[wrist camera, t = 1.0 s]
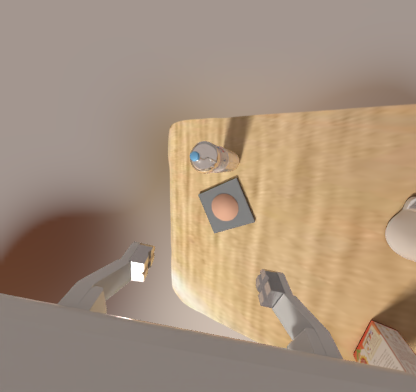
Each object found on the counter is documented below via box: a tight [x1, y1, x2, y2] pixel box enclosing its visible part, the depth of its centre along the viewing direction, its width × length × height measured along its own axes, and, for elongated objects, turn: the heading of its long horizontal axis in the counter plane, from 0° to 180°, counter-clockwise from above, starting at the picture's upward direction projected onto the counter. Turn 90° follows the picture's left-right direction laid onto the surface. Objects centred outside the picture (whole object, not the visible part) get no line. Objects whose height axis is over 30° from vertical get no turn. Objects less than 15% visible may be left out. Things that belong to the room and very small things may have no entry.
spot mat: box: [199, 178, 255, 233], centre depth 54 cm, size 16×16×1 cm
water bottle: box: [190, 141, 239, 174], centre depth 40 cm, size 7×7×25 cm
